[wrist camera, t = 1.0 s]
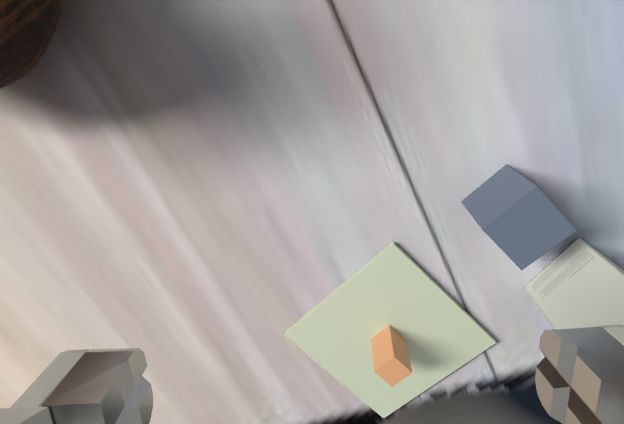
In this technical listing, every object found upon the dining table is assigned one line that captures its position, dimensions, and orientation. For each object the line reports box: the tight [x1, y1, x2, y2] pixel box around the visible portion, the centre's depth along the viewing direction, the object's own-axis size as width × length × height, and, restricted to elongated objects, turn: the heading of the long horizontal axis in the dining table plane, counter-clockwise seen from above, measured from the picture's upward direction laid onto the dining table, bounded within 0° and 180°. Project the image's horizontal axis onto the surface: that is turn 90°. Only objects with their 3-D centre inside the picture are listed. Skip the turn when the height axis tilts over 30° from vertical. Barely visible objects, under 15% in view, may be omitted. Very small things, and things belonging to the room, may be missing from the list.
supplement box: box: [525, 238, 624, 329], centre depth 36 cm, size 7×7×13 cm
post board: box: [285, 241, 496, 418], centre depth 43 cm, size 16×16×6 cm
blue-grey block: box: [462, 165, 577, 270], centre depth 37 cm, size 5×5×7 cm
